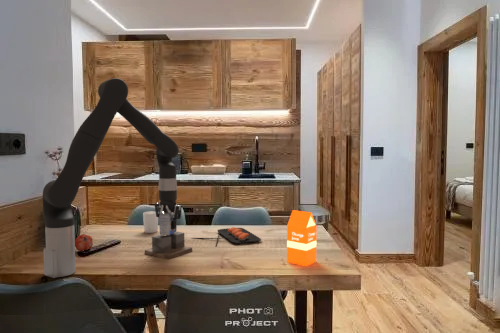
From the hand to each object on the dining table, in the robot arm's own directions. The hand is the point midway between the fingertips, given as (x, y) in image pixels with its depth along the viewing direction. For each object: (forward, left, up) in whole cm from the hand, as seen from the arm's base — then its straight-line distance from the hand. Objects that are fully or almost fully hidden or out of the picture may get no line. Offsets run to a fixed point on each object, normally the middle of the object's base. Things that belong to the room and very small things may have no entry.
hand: (168, 228), depth 163 cm
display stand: (0, 0, -10) cm, 10 cm away
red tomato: (-18, +33, -11) cm, 39 cm away
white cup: (+23, +36, -11) cm, 44 cm away
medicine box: (0, 0, -2) cm, 2 cm away
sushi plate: (+32, -5, -11) cm, 34 cm away
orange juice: (+19, -53, -11) cm, 57 cm away
